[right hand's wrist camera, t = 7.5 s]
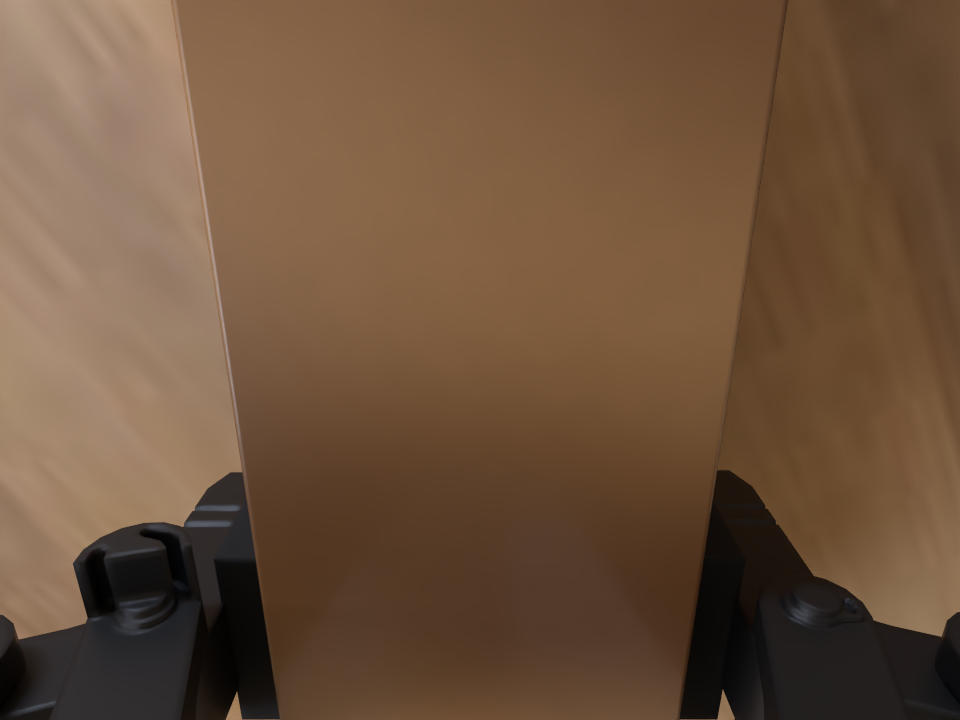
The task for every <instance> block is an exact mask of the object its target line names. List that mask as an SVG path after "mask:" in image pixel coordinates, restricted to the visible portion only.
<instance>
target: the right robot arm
mask: <svg viewBox="0 0 960 720" xmlns="http://www.w3.org/2000/svg"><path fill="white" fill-rule="evenodd" d="M73 566H74V570H75V573H76V577H77V580H78V584H79V588H80V591H81V595H82V599H83V602H84V606H85V609H86V613H87V617H88V619H87V622H86V624H82V625H79V626H75V627H72V628H69V629H64V630H60V631H55V632H51V633H46V634H42V635H37V636H33V637H29V638H24V639H20V640H19V639H18V636H17V633H16V630H15V627H14V624H13V623H12V622H11V621H10V620H8V619H7V618H6V617H5V616H3V615H0V720H226V717H227V715H228V712H229V710H230V707H231V705H232V702H233V700H234V697H235V695H236V692H238V698H239V704H240V709H241V715H242V719H280V716H279V710H278V703H277V697H276V690H275V683H274V677H273V670H272V664H271V657H270V650H269V644H268V637H267V631H266V624H265V617H264V611H263V604H262V598H261V591H260V584H259V578H258V571H257V565H256V558H255V551H254V545H253V538H252V531H251V525H250V518H249V512H248V505H247V498H246V492H245V485H244V479H243V472H231V473H229V474H228V475H226V476H225V477H224V478H222V479H221V480H219V481H218V482H216V483H215V484H214V485H212V486H211V487H209V488H208V489H207V491H206V492H205V493H204V495H203V496H202V498H201V499H200V501H199V502H198V504H197V505H196V507H195V511H192V512H191V514H190V515H189V517H188V518H187V520H186V521H185V523H184V527H180V526H177V525H173V524H169V523H165V522H161V523H142V524H138V525H134V526H129V527H125V528H121V529H119V530H117V531H114V532H112V533H110V534H108V535H105V536H103V537H101V538H99V539H98V540H96V541H95V542H94V543H92V544H91V545H89V546H88V547H87V548H85V549H84V550H83V551H82V552H81V554H80V555H79V556H78V557H77V559H76V560H75V561H74V563H73ZM722 690H724V693H725V695H726V698H727V700H728V703H729V705H730V707H731V710H732V712H733V715H734V717H735V720H960V612H957V613H956V614H955V615H953V616H952V617H951V618H950V619H948V620H947V622H946V626H945V629H944V632H943V635H942V637H939V636H935V635H930V634H926V633H921V632H917V631H912V630H908V629H903V628H899V627H894V626H890V625H887V624H884V623H880V622H877V621H874V620H873V618H872V616H871V614H870V613H869V611H868V610H867V608H866V607H865V605H864V604H863V602H861V601H860V600H859V599H858V598H856V597H855V596H854V595H853V594H851V593H850V592H849V591H848V590H846V589H845V588H843V587H840V586H838V585H836V584H834V583H832V582H830V581H828V580H826V579H823V578H819V577H815V576H813V574H812V573H811V571H810V570H809V568H808V567H807V566H806V564H805V563H804V561H803V560H802V558H801V557H800V555H799V554H798V552H797V551H796V550H795V548H794V547H793V545H792V544H791V542H790V541H789V539H788V538H787V536H786V535H785V534H784V532H783V531H782V529H781V528H780V526H779V525H776V521H775V519H774V518H773V516H772V515H771V513H770V512H769V510H768V509H765V505H764V503H763V502H762V500H761V499H760V497H759V496H758V494H757V493H756V491H755V490H754V489H753V487H752V486H751V485H749V484H748V483H746V482H745V481H744V480H742V479H741V478H739V477H738V476H736V475H735V474H734V473H732V472H731V471H729V470H717V474H716V480H715V487H714V494H713V500H712V507H711V514H710V520H709V527H708V534H707V540H706V547H705V553H704V560H703V567H702V573H701V580H700V587H699V593H698V600H697V606H696V613H695V620H694V626H693V633H692V640H691V646H690V653H689V659H688V666H687V673H686V679H685V686H684V693H683V699H682V706H681V712H680V719H717V718H718V712H719V707H720V701H721V695H722Z"/></svg>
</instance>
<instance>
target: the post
mask: <svg viewBox="0 0 960 720" xmlns="http://www.w3.org/2000/svg"><path fill="white" fill-rule="evenodd" d="M171 3H172V10H173V16H174V23H175V30H176V36H177V43H178V49H179V56H180V63H181V69H182V76H183V82H184V89H185V96H186V102H187V109H188V115H189V122H190V129H191V135H192V142H193V149H194V155H195V162H196V168H197V175H198V182H199V188H200V195H201V201H202V208H203V215H204V221H205V228H206V234H207V241H208V248H209V254H210V261H211V267H212V274H213V281H214V287H215V294H216V300H217V307H218V314H219V320H220V327H221V333H222V340H223V347H224V353H225V360H226V366H227V373H228V380H229V386H230V393H231V399H232V406H233V413H234V419H235V426H236V432H237V439H238V446H239V452H240V459H241V465H242V472H243V479H244V485H245V492H246V498H247V505H248V512H249V518H250V525H251V531H252V538H253V545H254V551H255V558H256V565H257V571H258V578H259V584H260V591H261V598H262V604H263V611H264V617H265V624H266V631H267V637H268V644H269V650H270V657H271V664H272V670H273V677H274V683H275V690H276V697H277V703H278V710H279V716H280V720H679V719H680V712H681V706H682V699H683V693H684V686H685V679H686V673H687V666H688V659H689V653H690V646H691V640H692V633H693V626H694V620H695V613H696V606H697V600H698V593H699V587H700V580H701V573H702V567H703V560H704V553H705V547H706V540H707V534H708V527H709V520H710V514H711V507H712V500H713V494H714V487H715V480H716V474H717V467H718V461H719V454H720V447H721V441H722V434H723V427H724V421H725V414H726V408H727V401H728V394H729V388H730V381H731V374H732V368H733V361H734V355H735V348H736V341H737V335H738V328H739V321H740V315H741V308H742V302H743V295H744V288H745V282H746V275H747V268H748V262H749V255H750V248H751V242H752V235H753V229H754V222H755V215H756V209H757V202H758V195H759V189H760V182H761V176H762V169H763V162H764V156H765V149H766V142H767V136H768V129H769V123H770V116H771V109H772V103H773V96H774V89H775V83H776V76H777V70H778V63H779V56H780V50H781V43H782V36H783V30H784V23H785V16H786V10H787V3H788V0H171Z"/></svg>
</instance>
